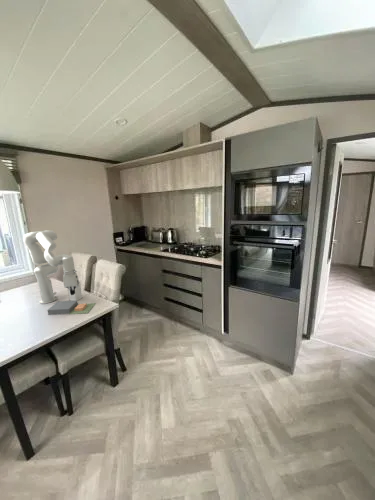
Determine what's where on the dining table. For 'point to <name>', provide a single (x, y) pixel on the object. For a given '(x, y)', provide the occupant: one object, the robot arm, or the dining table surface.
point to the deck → (62, 307)
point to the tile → (80, 307)
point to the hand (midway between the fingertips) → (72, 294)
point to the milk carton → (76, 294)
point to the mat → (86, 310)
